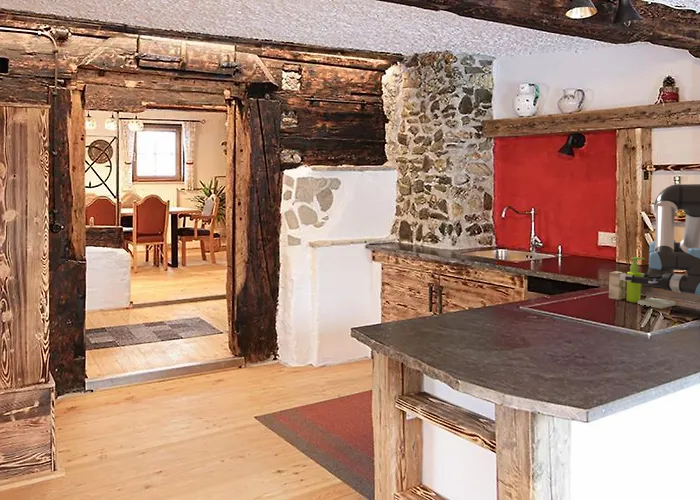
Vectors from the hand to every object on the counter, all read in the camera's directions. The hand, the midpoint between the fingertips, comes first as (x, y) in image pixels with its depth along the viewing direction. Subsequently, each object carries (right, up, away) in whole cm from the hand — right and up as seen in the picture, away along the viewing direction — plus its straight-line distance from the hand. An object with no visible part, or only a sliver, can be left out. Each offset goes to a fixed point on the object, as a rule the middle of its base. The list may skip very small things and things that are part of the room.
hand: (625, 275), depth 304 cm
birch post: (-2, -11, +5) cm, 12 cm away
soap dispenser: (+3, -12, -3) cm, 12 cm away
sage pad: (+9, -12, -11) cm, 19 cm away
